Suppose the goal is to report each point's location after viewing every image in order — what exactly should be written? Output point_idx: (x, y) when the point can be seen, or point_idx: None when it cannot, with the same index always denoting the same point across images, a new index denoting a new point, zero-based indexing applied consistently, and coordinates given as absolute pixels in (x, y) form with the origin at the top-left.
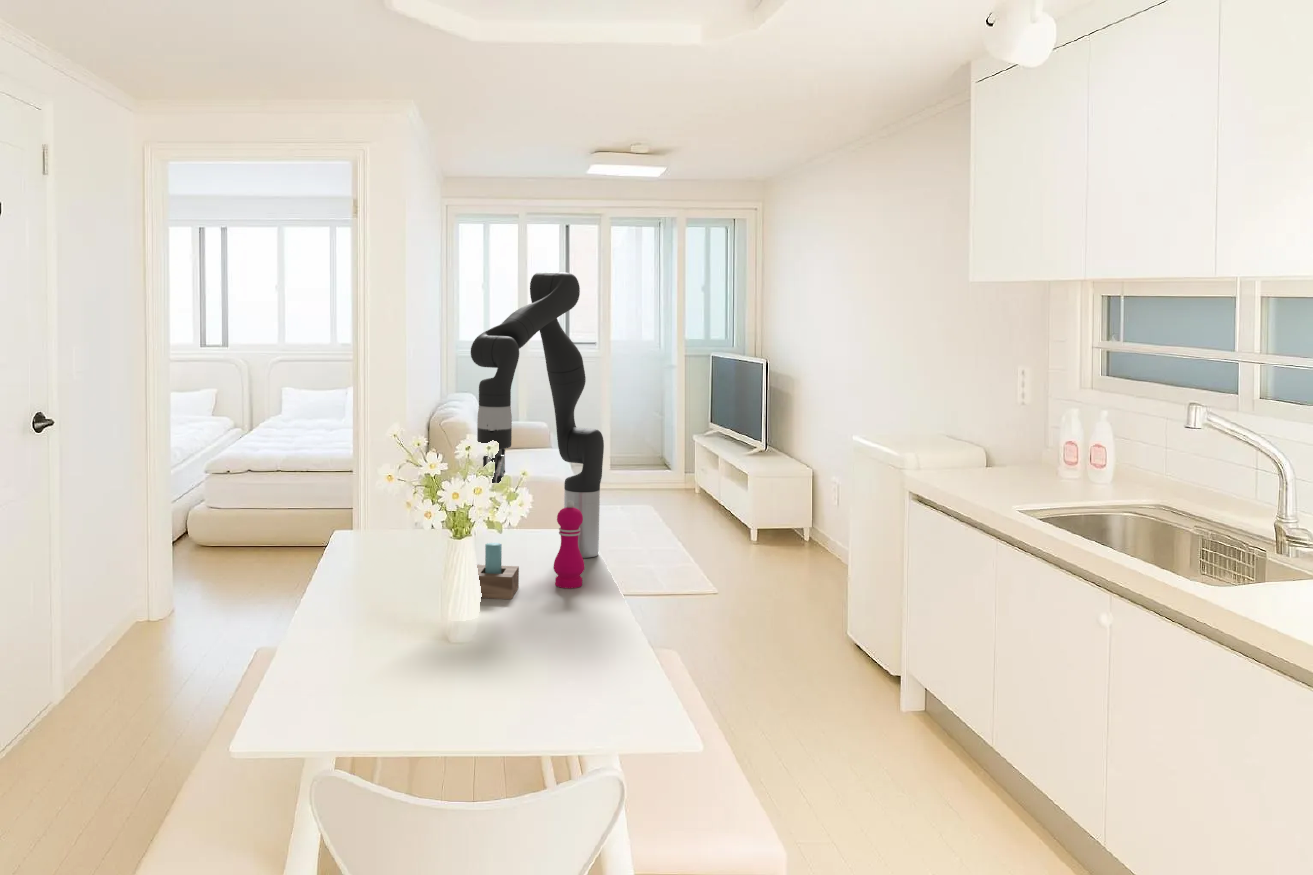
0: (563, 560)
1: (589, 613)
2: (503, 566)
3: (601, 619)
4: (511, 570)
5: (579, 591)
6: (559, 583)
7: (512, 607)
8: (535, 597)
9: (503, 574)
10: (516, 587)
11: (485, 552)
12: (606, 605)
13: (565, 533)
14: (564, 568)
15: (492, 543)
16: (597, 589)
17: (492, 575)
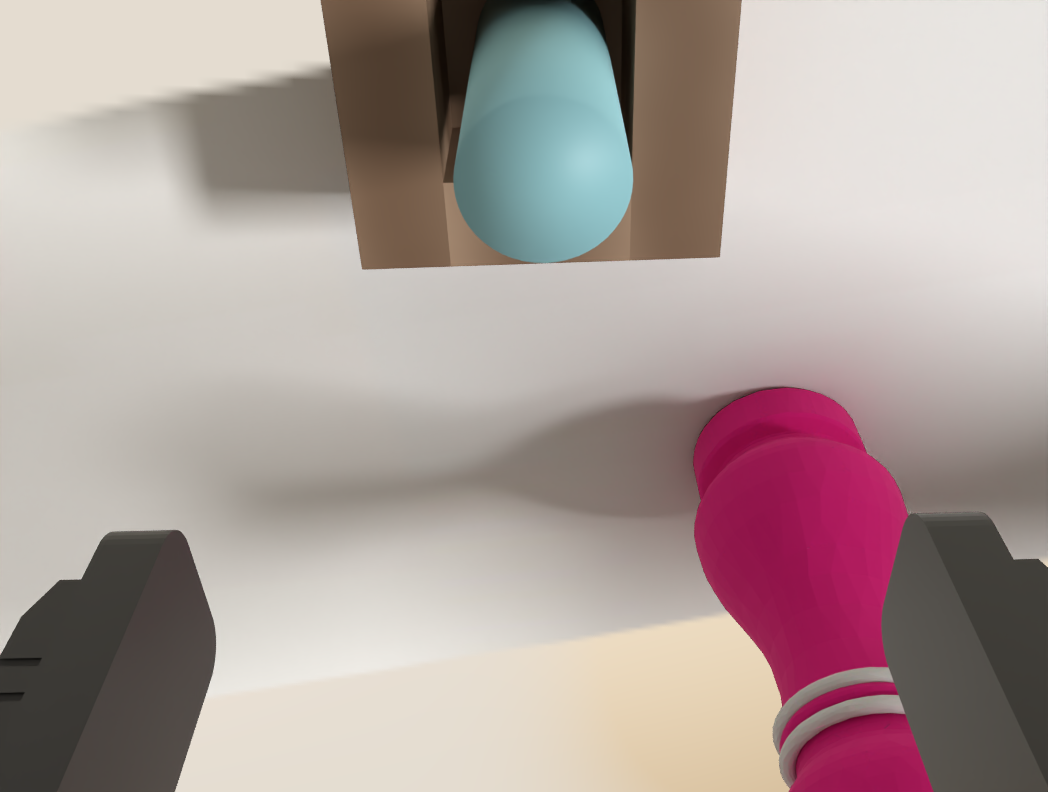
0: (726, 556)
1: (229, 589)
2: (702, 139)
3: None
4: None
5: (635, 512)
6: (717, 429)
7: (195, 234)
8: (461, 323)
9: (424, 194)
10: None
11: (513, 71)
12: (390, 634)
13: (786, 724)
14: (702, 527)
15: (594, 161)
16: (686, 579)
17: (370, 113)
